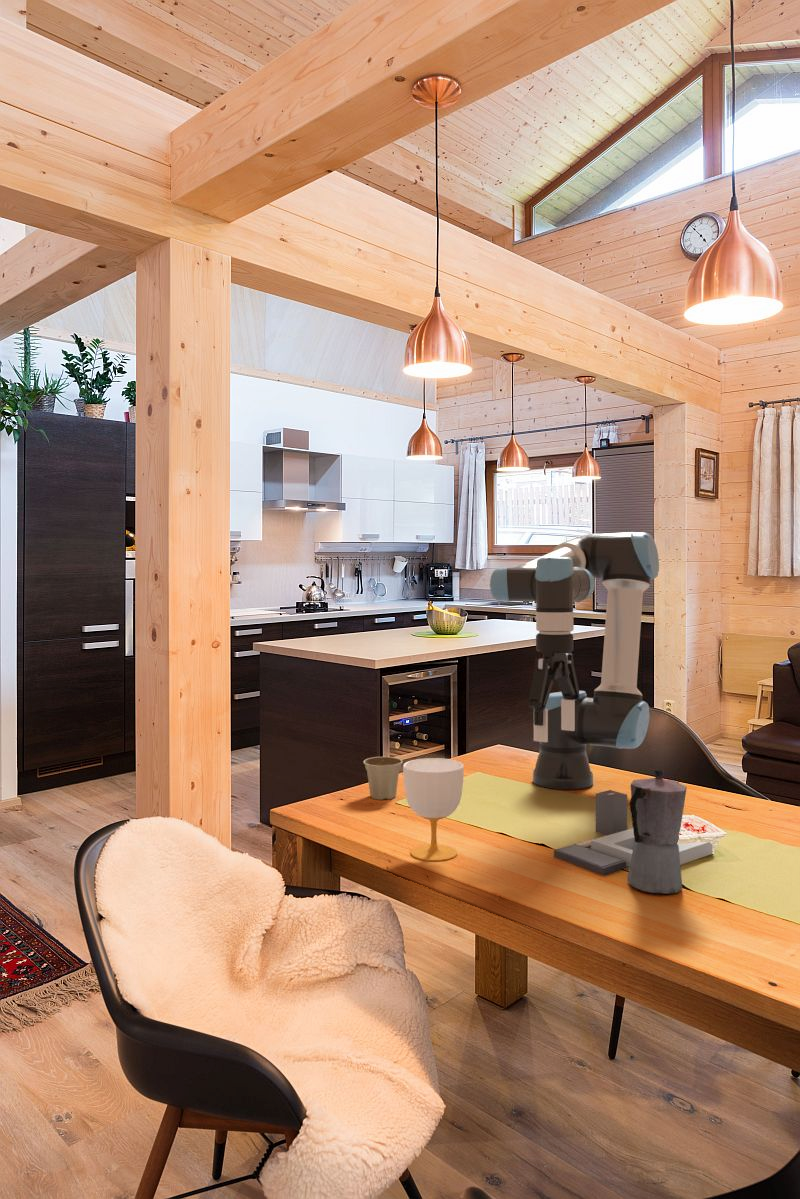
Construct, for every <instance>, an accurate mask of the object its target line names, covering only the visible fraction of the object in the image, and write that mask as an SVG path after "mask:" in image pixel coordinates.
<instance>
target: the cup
mask: <svg viewBox="0 0 800 1199" xmlns="http://www.w3.org/2000/svg"><path fill="white" fill-rule="evenodd" d="M464 766H465V765H464V763H463V762H460V761H459V760H454V759H450V758H441V757H440V758H439V757H438V758H437V757H436V758H435V757H427V758H426V757H425V758H416V759H412V760H409V761H406V762H405V763H403V766H402V774H403V785H404V792H405V797H406V801H407V804H408V806H409V807H410V809H411V811H412V812H414V813H415V814H416V815H417V816H419V817H421V818H422V819H425V820H428V821H429V823H430V829H431V831H430V833H431V835H430V836H431V840H430V843H429V844H421V845H418V846H414V847H413V848H412V849H410V855H411V856H412V857H413V858H415V859H417V860H421V861H424V862H425V861H426V862H443V861H444V862H445V861H449V860H452V859H454V858H456V856H458V850H457V849H455V848H454V847H452V846H449V845H445V844H439V843H438V842H437V839H438V838H437V824H438V822H439V820H443V819H445V818H447V817H450V816H451V815H452V814H453V813H454V812H456V810H457V808H458V806H459V805H460V802H461V798H462V795H463V786H464V770H465V767H464Z"/></svg>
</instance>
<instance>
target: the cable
mask: <svg viewBox="0 0 800 1199" xmlns="http://www.w3.org/2000/svg"><path fill="white" fill-rule="evenodd" d="M606 836H608V835H606ZM601 837H602V836H601ZM601 837H599V838H601ZM594 839H595V838H593V839H590V840H586V841H584V842H580V843H577V844H578V845H580V846H583V847H586V848H589V847H591V840H594Z"/></svg>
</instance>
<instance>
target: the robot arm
mask: <svg viewBox="0 0 800 1199" xmlns="http://www.w3.org/2000/svg"><path fill="white" fill-rule="evenodd" d="M659 572H660V559H659V553H658V549H657V545H656V542H655V540H654V538H653V536H652V535H651V534H650V533H648V532H635V531H630V532H629V531H627V532H611V533H610V532H608V533H588V534H584V535H581V536H579V537H578V536H577V537H575V538H572V539H569V540H567V541H565V542H562V543H560V544H557V545H556V546H555V547H554V548H553V550H552V551H550V552H549V553H546V554H543V555H541V556H538V557H537V558H535V559H533V560H530V561H528V562H525V563H523V564H520V565H518V566H516V567H515V566H514V567H508V566H506V567H499V568H496V569H494V570H493V571H492V574H491V576H490V579H489V588H490V593H491V595H492V597H493V599H495V600H496V601H501V602H508V603H510V602H535V604H536V606H535V611H536V612H535V616H534V620H535V621H536V623H535V624H536V625H535V628H536V631H538V633H536V635H535V649H536V651H537V652H538V653H542V658H539V657H538V658H536V657H535V659H534V671H533V676H532V677H533V678H532V681H531V686H530V692H529V696H528V700H527V708H528V709H533V742H539V751H538V752H539V753H538V755H537V759H536V763H535V768H534V769H533V771H532V782H533V783H534V784H536V785H537V786H540V787H543V788H548V789H554V790H580V789H582V790H583V789H586V788H589V787H592V786H593V784H594V774H593V771H592V770H591V766H590V763H589V762H590V761H589V758H588V754H587V745H589V746H590V745H591V746H596V747H597V746H599V747H605V748H616V749H620V750H621V749H628V750H629V749H632V750H633V749H636V748H638V747H639V746H641V744H642V743H643V742H644V740H645V737H646V735H647V732H648V728H649V723H650V705H649V704H648V702H646V701H644V700H643V694H642V692H641V691H640V690H639V689H638V687H637V686H638V670H639V656H640V641H641V626H642V614H643V613H642V612H643V610H642V609H643V598H644V596H643V595H644V594H643V593H645V591H646V590H648V589H649V588H650V587H651V580H654V579H656V578H657V577H658V575H659ZM595 579H602V582H601V584H602V586H603V587H604V588H605V589H606V590H607V598H606V613H605V624H604V638H603V639H604V641H603V652H602V663H601V664H602V666H601V678H600V679H601V680H600V685H599V686H598V687H596V688H595V689H593V690H594V691H593V697H588V696H587V695H588V694H587V693H586V691H585V690H580V689H579V684H578V678H577V673H576V670H575V665H574V664H575V663H574V654H573V653H572V652H573V651H574V635H573V633H571V632H573V631H574V603H580V602H583V601H585V600H588V598H590V597H591V596H592V595H593V593H594V590H595V586H596V583H595V582H596V581H595ZM556 681H557V685H558V687H559V689H560V691H557V692H551V691H552V688H553V685H554V683H555V682H556Z"/></svg>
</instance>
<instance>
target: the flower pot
mask: <svg viewBox="0 0 800 1199" xmlns="http://www.w3.org/2000/svg"><path fill="white" fill-rule="evenodd" d="M363 764H364V767H365V770H366V772H367V774H366V775H367V780H368V787H369V788H368V789H369V794H370V797H371V798H372V799H375V800H379V801H383V800H385V799H387V800H392V799H394V798H396V797H397V792H398V790H397V789H398V783H399V777H400V776H399V775H400V769H401V768H402V764H404V763H403V759H401V758H398V757H393V756H373V757H369V758H366V759H364V760H363Z"/></svg>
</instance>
